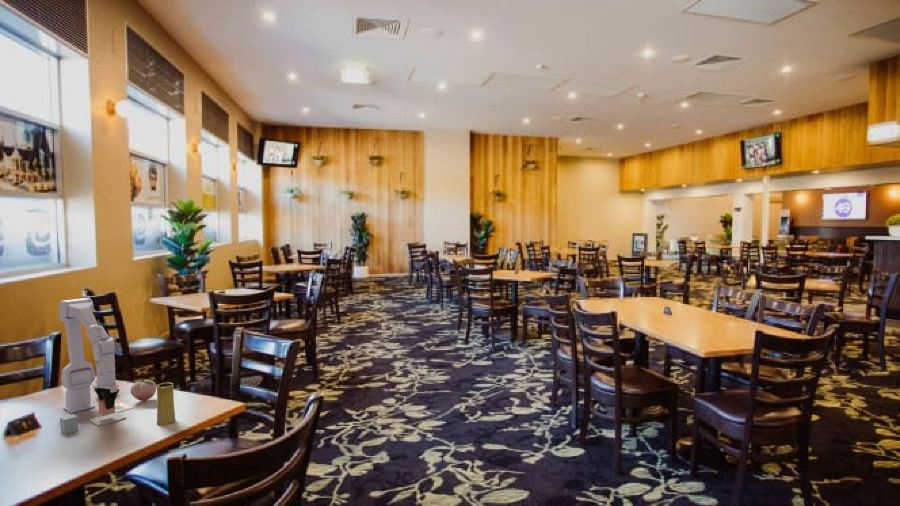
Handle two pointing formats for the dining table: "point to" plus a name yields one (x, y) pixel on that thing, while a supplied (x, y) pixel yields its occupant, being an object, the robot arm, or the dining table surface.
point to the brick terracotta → (103, 410)
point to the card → (121, 407)
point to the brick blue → (69, 423)
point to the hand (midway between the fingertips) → (107, 407)
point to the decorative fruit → (143, 389)
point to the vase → (165, 404)
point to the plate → (107, 419)
